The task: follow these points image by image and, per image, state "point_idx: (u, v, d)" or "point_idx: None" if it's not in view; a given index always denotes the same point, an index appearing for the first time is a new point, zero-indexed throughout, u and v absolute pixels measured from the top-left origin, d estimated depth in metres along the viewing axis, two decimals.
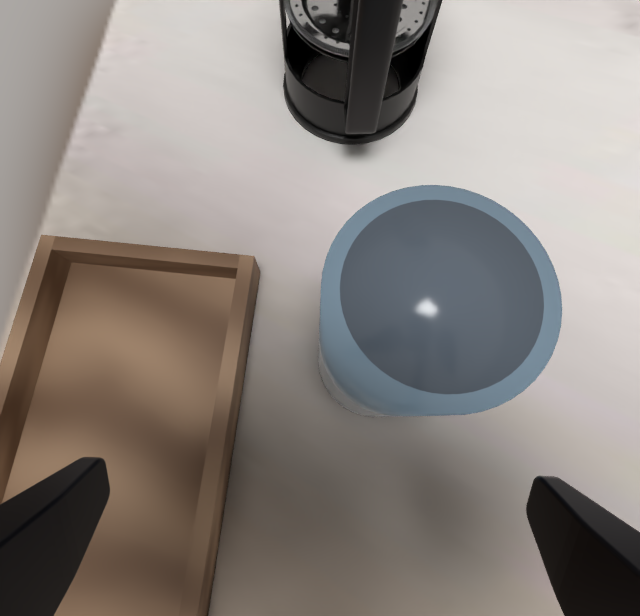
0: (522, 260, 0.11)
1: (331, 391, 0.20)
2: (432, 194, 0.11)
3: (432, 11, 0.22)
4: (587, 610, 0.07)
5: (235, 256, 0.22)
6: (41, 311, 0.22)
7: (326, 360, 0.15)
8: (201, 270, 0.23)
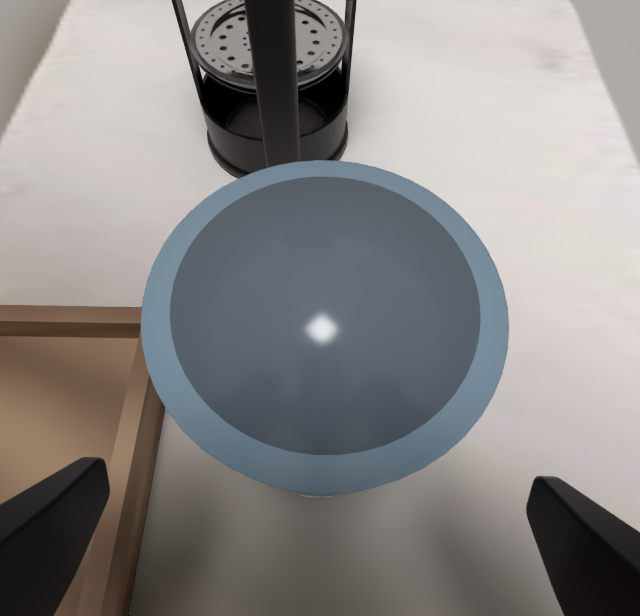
0: (441, 243, 0.08)
1: None
2: (311, 171, 0.08)
3: (345, 44, 0.21)
4: (587, 610, 0.07)
5: (140, 309, 0.18)
6: None
7: None
8: (101, 330, 0.19)
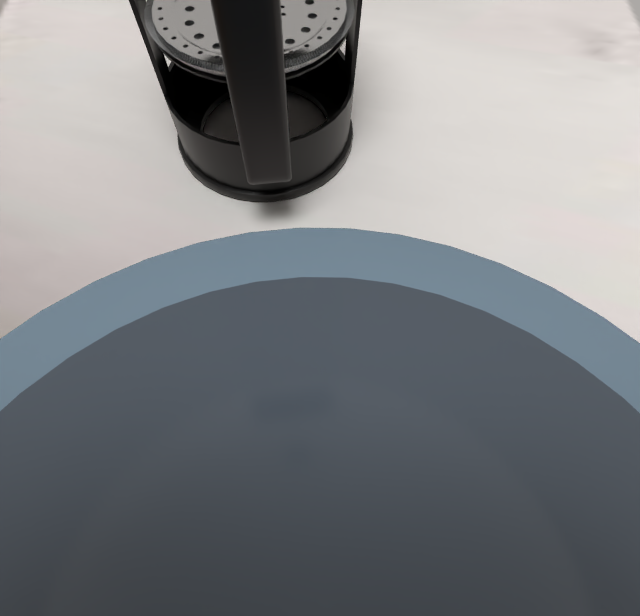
0: None
1: None
2: (288, 259, 0.03)
3: (351, 18, 0.16)
4: None
5: None
6: None
7: None
8: None
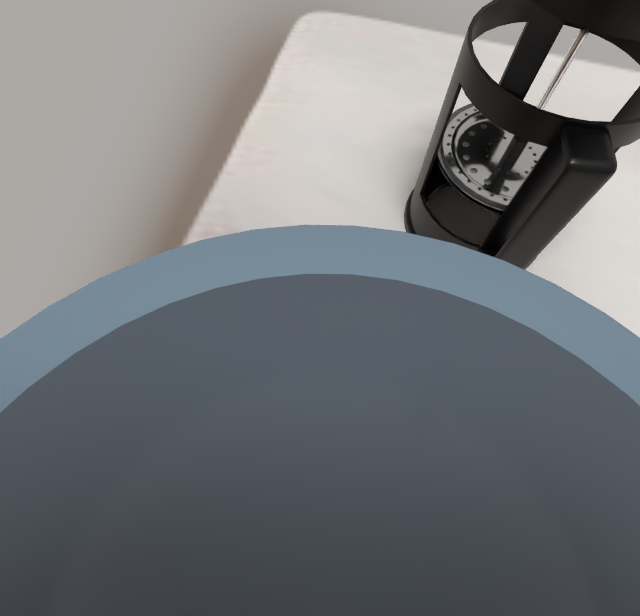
0: None
1: None
2: (293, 255, 0.03)
3: None
4: None
5: None
6: None
7: None
8: None
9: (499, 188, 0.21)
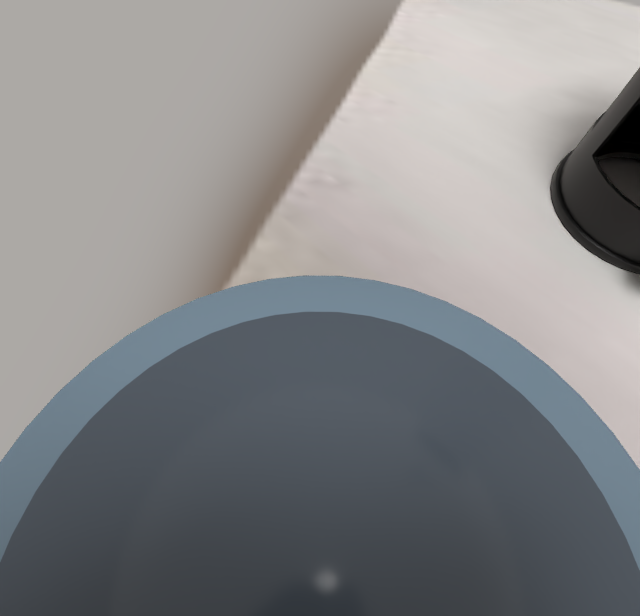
0: (553, 467, 0.04)
1: None
2: (297, 298, 0.05)
3: None
4: None
5: None
6: None
7: None
8: None
9: None
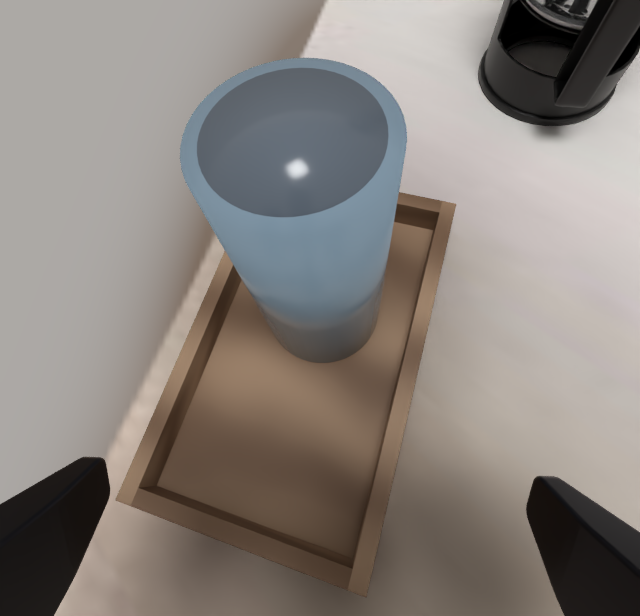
0: (363, 97, 0.12)
1: (279, 337, 0.20)
2: (274, 68, 0.12)
3: None
4: (587, 610, 0.07)
5: (437, 202, 0.23)
6: None
7: (237, 270, 0.15)
8: (398, 214, 0.24)
9: (578, 11, 0.23)
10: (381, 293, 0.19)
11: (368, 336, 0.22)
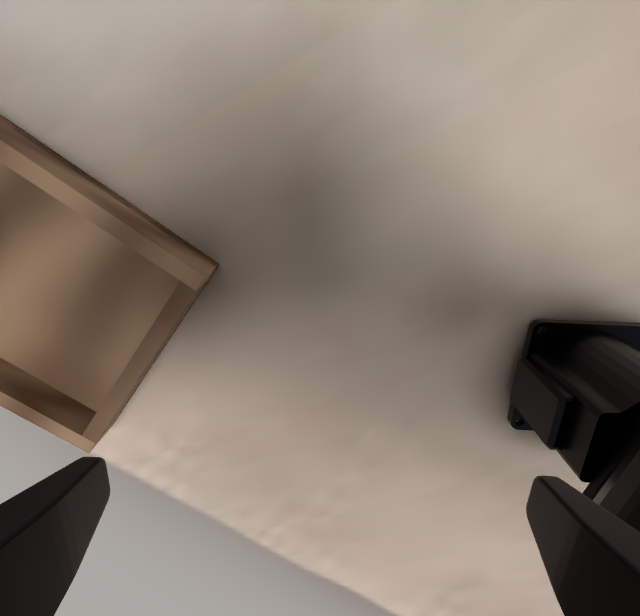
0: None
1: None
2: None
3: None
4: (587, 610, 0.07)
5: None
6: None
7: None
8: None
9: None
10: None
11: None
